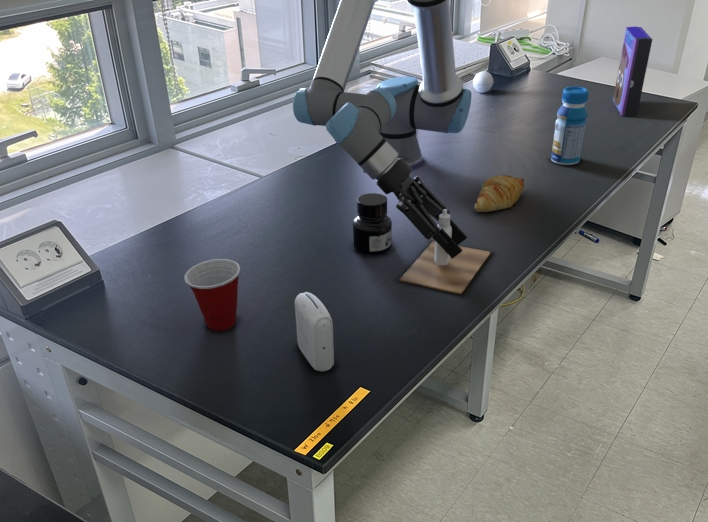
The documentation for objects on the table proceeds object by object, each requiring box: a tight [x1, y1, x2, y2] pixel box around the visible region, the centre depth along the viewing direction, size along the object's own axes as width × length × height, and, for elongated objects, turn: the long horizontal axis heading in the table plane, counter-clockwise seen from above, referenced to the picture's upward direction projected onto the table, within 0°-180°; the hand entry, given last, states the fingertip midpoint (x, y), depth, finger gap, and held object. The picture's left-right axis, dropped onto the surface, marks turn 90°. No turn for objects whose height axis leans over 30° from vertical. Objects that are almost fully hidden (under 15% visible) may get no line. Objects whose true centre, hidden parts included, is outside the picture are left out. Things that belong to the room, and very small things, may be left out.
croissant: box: [474, 174, 525, 213], centre depth 186 cm, size 21×10×8 cm, turn 139°
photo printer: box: [294, 291, 335, 372], centre depth 131 cm, size 10×4×12 cm, turn 24°
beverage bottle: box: [550, 86, 590, 166], centre depth 203 cm, size 8×8×20 cm
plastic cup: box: [183, 258, 241, 332], centre depth 141 cm, size 11×11×12 cm
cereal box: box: [612, 26, 653, 118], centre depth 238 cm, size 17×5×24 cm, turn 172°
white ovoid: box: [472, 70, 494, 94], centre depth 263 cm, size 10×7×7 cm
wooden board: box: [398, 240, 492, 296], centre depth 160 cm, size 20×14×1 cm
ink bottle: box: [352, 192, 393, 256], centre depth 166 cm, size 10×9×12 cm
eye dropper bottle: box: [434, 208, 452, 265], centre depth 157 cm, size 4×6×12 cm
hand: (459, 247), depth 157 cm, fingers closed on eye dropper bottle, 6 cm apart
